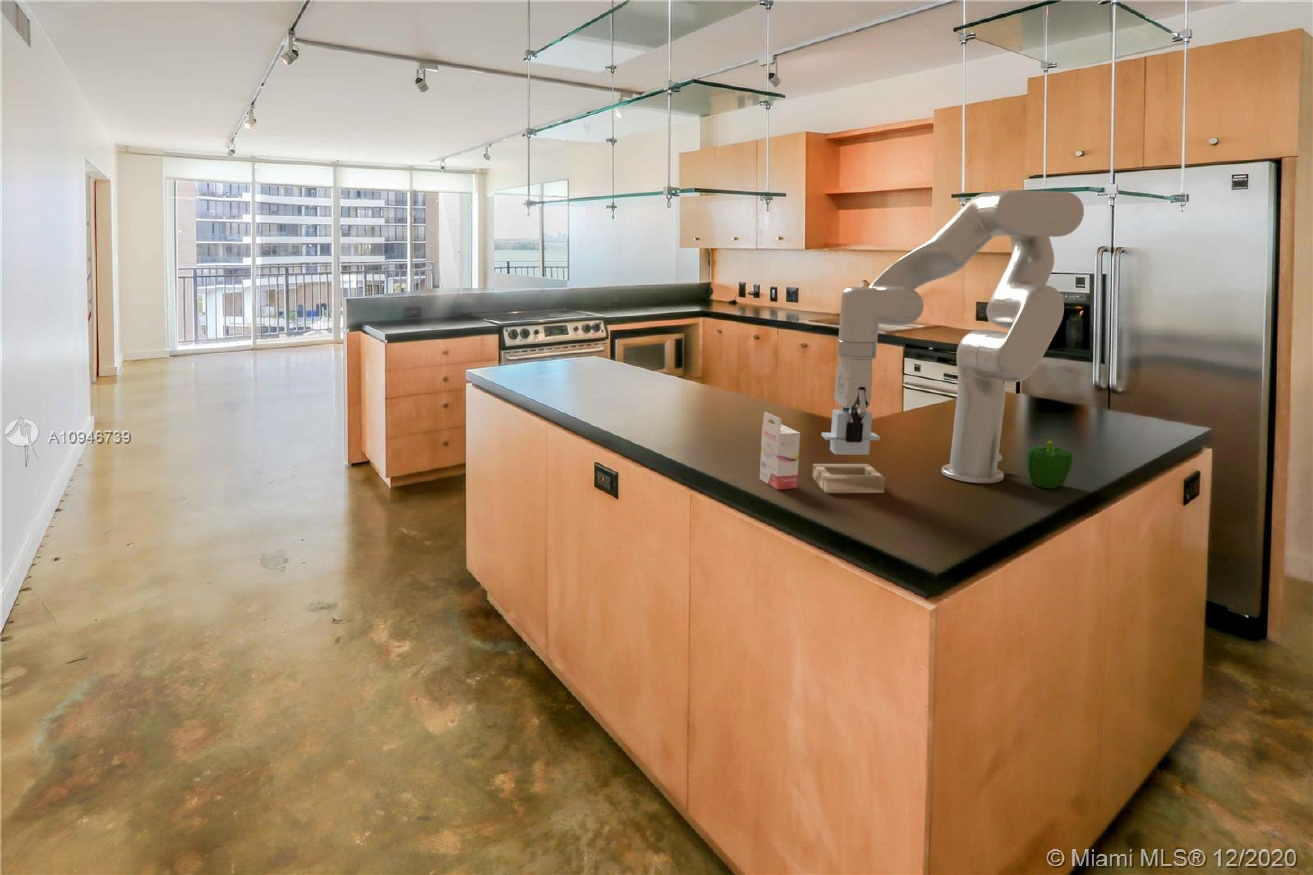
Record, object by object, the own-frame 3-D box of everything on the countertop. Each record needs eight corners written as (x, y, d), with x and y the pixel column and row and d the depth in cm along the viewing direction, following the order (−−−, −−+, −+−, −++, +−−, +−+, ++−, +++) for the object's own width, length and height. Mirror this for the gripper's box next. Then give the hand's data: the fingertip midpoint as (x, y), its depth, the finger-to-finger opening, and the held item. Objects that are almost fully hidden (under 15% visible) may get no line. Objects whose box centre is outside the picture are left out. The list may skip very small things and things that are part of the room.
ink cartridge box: (798, 488, 160) (802, 418, 157) (776, 490, 159) (780, 419, 155) (779, 477, 168) (783, 409, 165) (758, 478, 167) (761, 410, 163)
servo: (820, 449, 163) (823, 404, 161) (872, 449, 164) (876, 405, 162) (825, 454, 159) (828, 408, 157) (878, 454, 160) (882, 408, 158)
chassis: (812, 477, 168) (812, 463, 168) (867, 477, 169) (868, 463, 168) (825, 492, 158) (826, 478, 157) (884, 492, 158) (885, 478, 157)
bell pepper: (1037, 477, 170) (1043, 433, 168) (1075, 487, 164) (1081, 441, 161) (1015, 483, 166) (1021, 437, 164) (1052, 493, 159) (1059, 446, 157)
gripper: (827, 344, 165) (821, 429, 169) (850, 355, 148) (843, 449, 153) (862, 345, 165) (856, 430, 169) (889, 355, 149) (881, 449, 153)
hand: (850, 438), depth 161 cm, fingers closed on servo, 4 cm apart
